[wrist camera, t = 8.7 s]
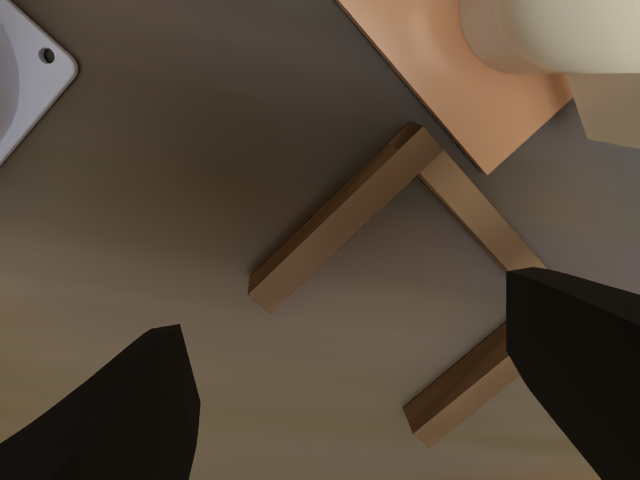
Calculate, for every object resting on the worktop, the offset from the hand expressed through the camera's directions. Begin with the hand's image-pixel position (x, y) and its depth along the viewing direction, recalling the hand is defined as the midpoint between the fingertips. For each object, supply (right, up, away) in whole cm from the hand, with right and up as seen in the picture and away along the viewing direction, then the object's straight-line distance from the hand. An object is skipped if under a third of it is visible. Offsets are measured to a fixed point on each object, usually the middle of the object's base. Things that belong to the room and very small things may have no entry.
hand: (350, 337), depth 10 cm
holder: (+3, 0, +11) cm, 11 cm away
